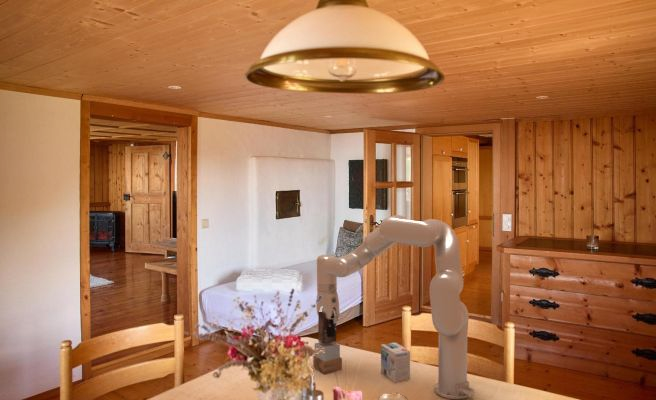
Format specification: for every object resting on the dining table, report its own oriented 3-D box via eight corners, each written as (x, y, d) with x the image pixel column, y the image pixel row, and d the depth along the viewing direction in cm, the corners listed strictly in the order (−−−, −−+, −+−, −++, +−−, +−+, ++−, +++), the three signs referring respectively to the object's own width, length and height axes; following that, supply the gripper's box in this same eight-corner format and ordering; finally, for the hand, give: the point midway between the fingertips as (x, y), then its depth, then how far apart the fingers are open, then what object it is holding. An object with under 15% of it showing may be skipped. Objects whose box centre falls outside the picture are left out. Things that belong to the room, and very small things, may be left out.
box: (324, 344, 184) (323, 313, 183) (318, 341, 187) (317, 310, 187) (337, 341, 187) (337, 310, 187) (331, 338, 191) (330, 308, 190)
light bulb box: (380, 372, 185) (380, 344, 184) (395, 369, 187) (395, 341, 187) (394, 383, 175) (394, 353, 174) (410, 379, 177) (410, 350, 177)
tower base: (341, 370, 187) (341, 357, 186) (324, 375, 182) (324, 362, 182) (330, 364, 193) (330, 351, 193) (313, 368, 189) (313, 355, 189)
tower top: (339, 357, 187) (339, 344, 186) (324, 361, 183) (324, 348, 183) (329, 352, 192) (329, 339, 192) (314, 356, 189) (314, 343, 188)
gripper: (347, 290, 181) (347, 338, 182) (324, 282, 196) (324, 327, 196) (330, 293, 177) (330, 342, 178) (307, 284, 192) (308, 330, 192)
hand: (327, 334), depth 187 cm, fingers closed on box, 4 cm apart
